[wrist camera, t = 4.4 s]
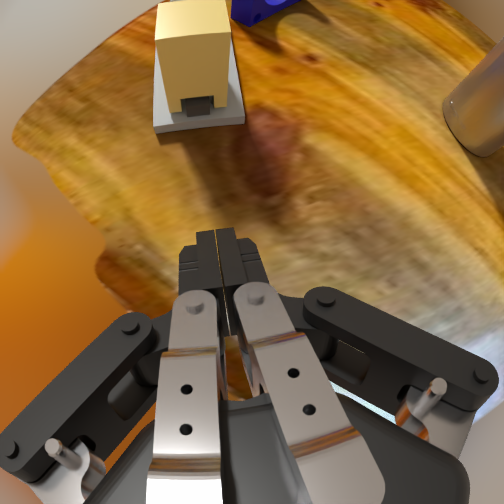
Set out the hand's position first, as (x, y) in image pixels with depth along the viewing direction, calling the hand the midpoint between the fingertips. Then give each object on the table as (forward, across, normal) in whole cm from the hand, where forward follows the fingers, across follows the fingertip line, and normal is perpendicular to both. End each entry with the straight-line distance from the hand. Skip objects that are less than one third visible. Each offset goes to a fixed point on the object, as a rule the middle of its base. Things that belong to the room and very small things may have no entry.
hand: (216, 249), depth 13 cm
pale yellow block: (+19, 0, -5) cm, 20 cm away
